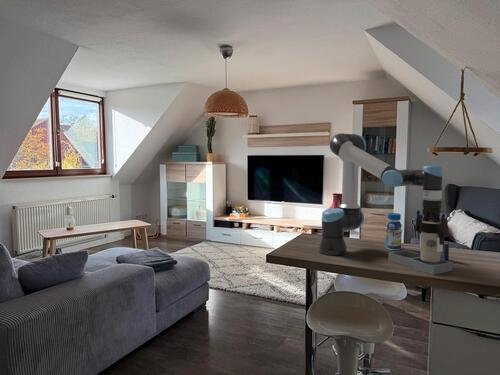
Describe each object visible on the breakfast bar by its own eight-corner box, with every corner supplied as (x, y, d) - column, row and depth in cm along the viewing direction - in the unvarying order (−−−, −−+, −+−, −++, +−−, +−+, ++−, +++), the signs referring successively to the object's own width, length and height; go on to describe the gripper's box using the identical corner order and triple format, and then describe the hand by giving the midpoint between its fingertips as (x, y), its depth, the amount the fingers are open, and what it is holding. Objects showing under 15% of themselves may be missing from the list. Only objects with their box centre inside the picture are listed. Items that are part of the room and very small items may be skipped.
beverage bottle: (392, 246, 192) (393, 212, 191) (404, 249, 184) (405, 214, 183) (382, 247, 188) (382, 213, 187) (393, 251, 181) (394, 215, 179)
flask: (429, 257, 169) (430, 236, 168) (433, 256, 170) (434, 236, 170) (446, 262, 161) (447, 240, 160) (450, 261, 162) (451, 240, 161)
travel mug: (422, 256, 156) (423, 219, 155) (441, 259, 151) (443, 221, 150) (418, 260, 150) (419, 221, 149) (438, 264, 145) (439, 223, 144)
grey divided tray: (388, 260, 164) (388, 252, 164) (406, 257, 170) (406, 249, 169) (433, 274, 142) (433, 266, 142) (452, 270, 148) (452, 262, 147)
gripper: (406, 198, 156) (405, 245, 158) (448, 202, 138) (447, 255, 139) (417, 197, 159) (416, 243, 161) (460, 201, 141) (458, 253, 142)
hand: (430, 249), depth 150 cm, fingers closed on travel mug, 8 cm apart
